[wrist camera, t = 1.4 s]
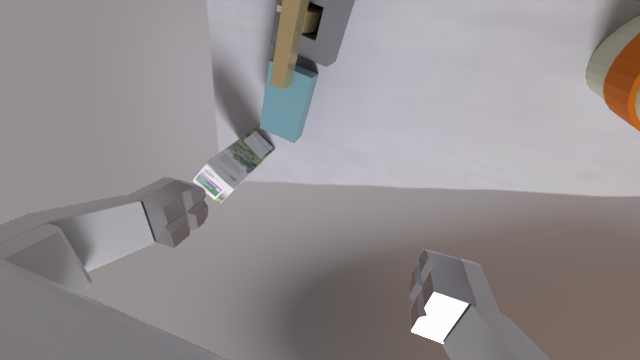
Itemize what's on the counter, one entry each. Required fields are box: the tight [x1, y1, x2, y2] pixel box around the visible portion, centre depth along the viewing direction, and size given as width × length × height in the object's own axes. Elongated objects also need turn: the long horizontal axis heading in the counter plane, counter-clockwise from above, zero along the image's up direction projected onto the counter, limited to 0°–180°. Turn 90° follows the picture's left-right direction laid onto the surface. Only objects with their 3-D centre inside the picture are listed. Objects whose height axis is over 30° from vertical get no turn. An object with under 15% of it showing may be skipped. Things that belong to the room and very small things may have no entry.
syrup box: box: [193, 129, 275, 203], centre depth 41 cm, size 6×6×14 cm
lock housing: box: [271, 0, 355, 74], centre depth 32 cm, size 18×8×5 cm, turn 163°
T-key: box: [270, 0, 323, 90], centre depth 27 cm, size 14×2×10 cm, turn 163°
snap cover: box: [260, 60, 318, 143], centre depth 33 cm, size 10×6×3 cm, turn 163°
